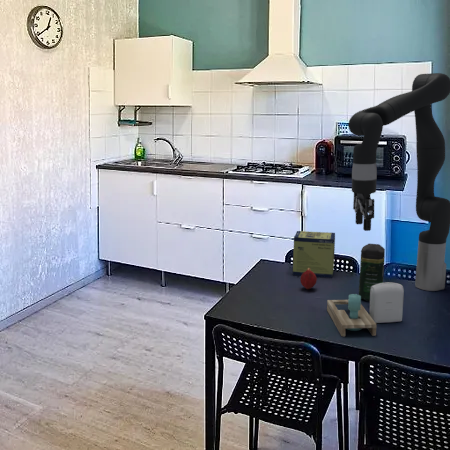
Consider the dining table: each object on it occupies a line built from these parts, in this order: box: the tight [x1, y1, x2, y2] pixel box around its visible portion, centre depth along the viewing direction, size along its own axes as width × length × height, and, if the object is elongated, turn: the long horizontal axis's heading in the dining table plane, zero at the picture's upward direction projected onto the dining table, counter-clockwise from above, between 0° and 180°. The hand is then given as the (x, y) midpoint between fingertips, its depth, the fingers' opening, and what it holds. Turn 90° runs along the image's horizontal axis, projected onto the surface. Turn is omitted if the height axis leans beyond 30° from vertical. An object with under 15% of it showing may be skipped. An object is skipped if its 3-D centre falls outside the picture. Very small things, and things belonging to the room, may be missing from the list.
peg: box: [346, 293, 363, 332], centre depth 165 cm, size 5×5×10 cm
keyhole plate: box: [326, 299, 378, 337], centre depth 169 cm, size 10×20×4 cm, turn 2°
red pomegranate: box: [299, 268, 318, 290], centre depth 197 cm, size 6×6×8 cm
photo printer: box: [368, 281, 405, 324], centre depth 169 cm, size 10×4×12 cm, turn 96°
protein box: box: [292, 230, 336, 279], centre depth 215 cm, size 10×16×16 cm
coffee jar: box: [358, 243, 386, 302], centre depth 188 cm, size 10×8×19 cm
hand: (362, 227), depth 177 cm, fingers open, 8 cm apart
